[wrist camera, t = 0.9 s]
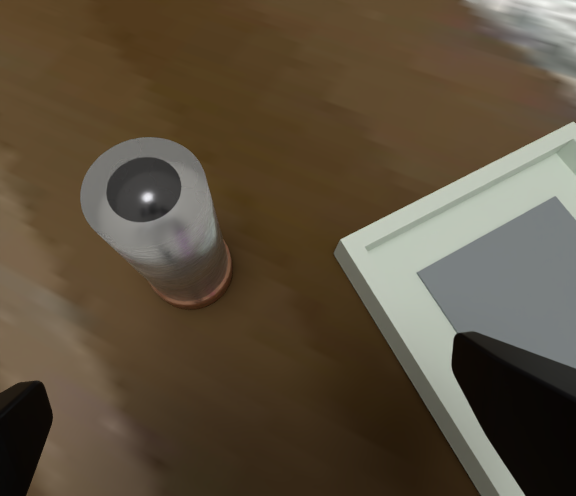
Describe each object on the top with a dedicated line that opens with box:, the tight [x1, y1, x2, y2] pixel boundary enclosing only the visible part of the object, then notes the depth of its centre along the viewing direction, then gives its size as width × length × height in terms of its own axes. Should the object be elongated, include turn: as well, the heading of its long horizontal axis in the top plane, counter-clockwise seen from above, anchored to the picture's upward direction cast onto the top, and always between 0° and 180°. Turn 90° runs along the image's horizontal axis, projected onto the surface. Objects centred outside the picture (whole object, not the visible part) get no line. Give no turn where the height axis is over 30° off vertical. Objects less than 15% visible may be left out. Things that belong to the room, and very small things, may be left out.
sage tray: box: [334, 122, 576, 496], centre depth 22 cm, size 18×18×2 cm
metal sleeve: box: [81, 137, 233, 310], centre depth 19 cm, size 5×5×10 cm
